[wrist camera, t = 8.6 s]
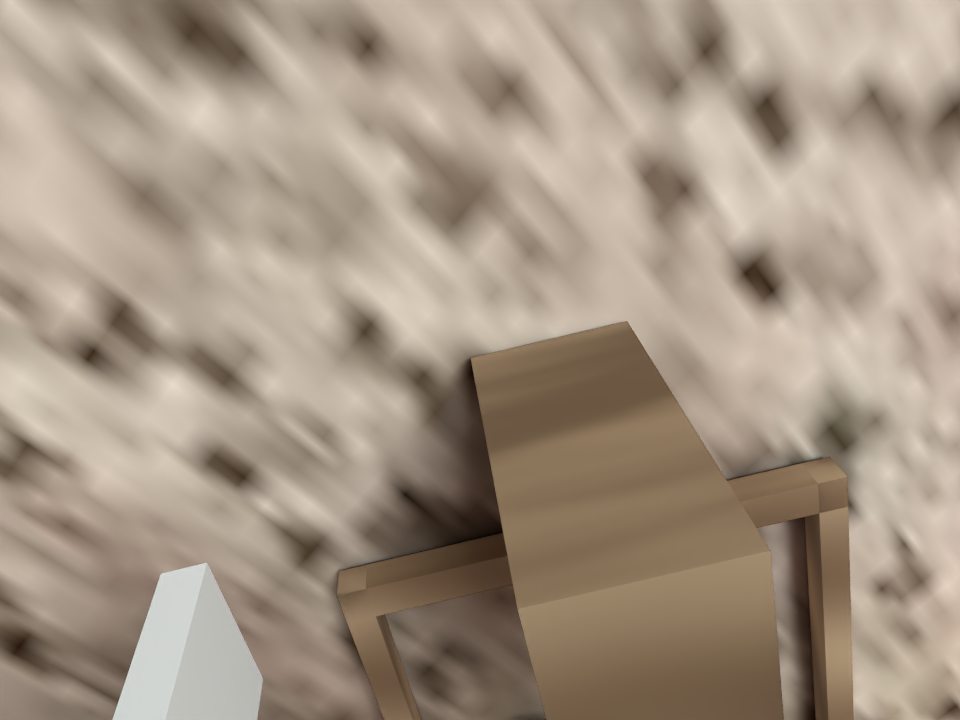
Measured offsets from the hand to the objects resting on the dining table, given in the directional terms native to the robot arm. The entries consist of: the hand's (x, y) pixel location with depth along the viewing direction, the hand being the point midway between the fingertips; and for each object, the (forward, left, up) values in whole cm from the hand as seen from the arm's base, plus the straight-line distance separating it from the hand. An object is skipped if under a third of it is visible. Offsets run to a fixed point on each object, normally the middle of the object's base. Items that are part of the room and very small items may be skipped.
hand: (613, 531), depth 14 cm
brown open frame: (+12, 0, -8) cm, 14 cm away
